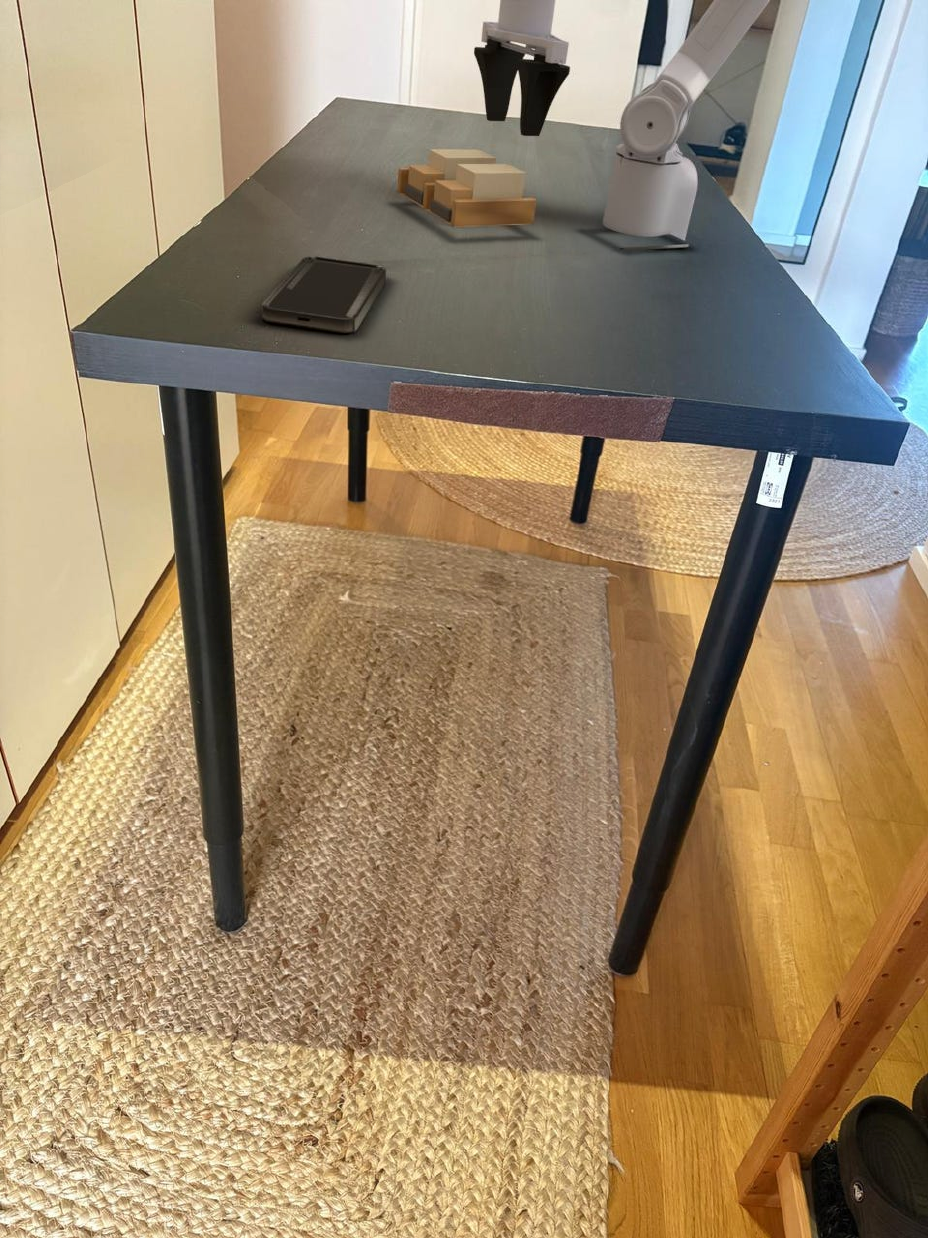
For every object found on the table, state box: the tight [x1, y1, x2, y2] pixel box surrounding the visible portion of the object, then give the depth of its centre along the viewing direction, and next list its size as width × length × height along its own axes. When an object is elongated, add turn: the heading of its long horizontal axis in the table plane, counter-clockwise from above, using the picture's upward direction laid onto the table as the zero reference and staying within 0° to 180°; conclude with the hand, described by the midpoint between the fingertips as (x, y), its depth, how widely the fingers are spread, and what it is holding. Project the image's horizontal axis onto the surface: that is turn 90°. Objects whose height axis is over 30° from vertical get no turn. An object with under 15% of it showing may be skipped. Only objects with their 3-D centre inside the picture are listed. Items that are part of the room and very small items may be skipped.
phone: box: [261, 256, 387, 334], centre depth 79 cm, size 8×1×15 cm
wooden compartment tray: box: [396, 167, 537, 228], centre depth 104 cm, size 10×14×4 cm
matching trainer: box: [405, 148, 497, 205], centre depth 105 cm, size 10×4×5 cm, turn 118°
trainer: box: [430, 163, 526, 223], centre depth 100 cm, size 10×4×5 cm, turn 118°
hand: (512, 127), depth 103 cm, fingers open, 7 cm apart
